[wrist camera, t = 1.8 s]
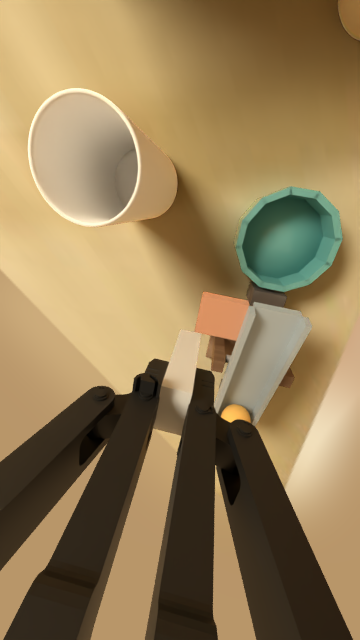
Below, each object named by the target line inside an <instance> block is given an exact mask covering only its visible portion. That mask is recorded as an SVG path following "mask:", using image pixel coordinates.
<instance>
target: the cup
mask: <svg viewBox="0 0 360 640" xmlns="http://www.w3.org/2000/svg"><path fill="white" fill-rule="evenodd" d="M28 156H29V163H30V168H31V172H32V175H33V178H34V181H35V183H36V185H37V187H38V189H39V191H40V193H41V194H42V196H43V197H44V199H45V200H46V202H47V203H48V204H49V205H50V206H51V207H52V208H53V209H54V210H55V211H56V212H57V213H58V214H59V215H61V216H62V217H63V218H65V219H67V220H69V221H71V222H73V223H75V224H78V225H82V226H87V227H101V226H108V225H114V224H121V223H127V222H133V221H139V220H146V219H152V218H156V217H158V216H160V215H162V214H164V213H165V212H166V211H167V210H168V209H169V208H170V207H171V205H172V203H173V201H174V199H175V197H176V193H177V186H178V181H177V174H176V170H175V167H174V165H173V163H172V161H171V160H170V158H169V157H168V156H167V155H166V154H165V153H164V152H163V151H162V150H161V149H160V148H159V147H158V146H157V145H156V144H155V143H154V142H153V141H152V140H151V139H150V138H149V137H148V136H147V135H146V134H145V133H144V132H143V131H142V130H141V129H140V128H139V127H138V126H137V125H136V124H135V123H134V122H133V121H132V120H131V119H130V118H129V117H128V116H127V115H126V114H125V113H123V112H122V111H121V110H120V109H119V108H118V107H117V106H116V105H115V104H114V103H113V102H111V101H110V100H109V99H107V98H106V97H104V96H102V95H100V94H98V93H96V92H94V91H91V90H87V89H81V88H72V89H66V90H63V91H60V92H58V93H56V94H54V95H52V96H51V97H50V98H48V99H47V100H46V101H45V102H44V103H43V104H42V106H41V107H40V108H39V110H38V111H37V113H36V115H35V117H34V119H33V122H32V125H31V128H30V132H29V139H28Z"/></svg>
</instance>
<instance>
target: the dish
mask: <svg viewBox="0 0 360 640" xmlns="http://www.w3.org/2000/svg"><path fill="white" fill-rule="evenodd" d="M342 239H343V238H342V231H341V223H340V216H339V211H338V210H337V209H336V208H335V207H334V206H333V205H332V204H331V203H330V202H329V201H328V200H327V198H326V197H325V196H324V195H323V194H322V193H321V192H320V191H314V190H308V189H302V188H297V187H287V188H284V189H281V190H279V191H276V192H274V193H271V194H268V195H266V196H263V197H261V198H258V199H257V200H256V201H255V202H254V203H253V204H252V205H251V206H250V208H249V209H248V210H247V211H246V212H245V213H244V214H243V216H242V217H241V218H240V219H239V223H238V227H237V231H236V235H235V239H234V246H235V249H236V253H237V257H238V260H239V264H240V267H241V270H242V272H244V273H245V274H246V275H247V276H248V277H249V278H250V279H251V280H252V281H253V282H255V283H256V284H257V285H258V286H259V287H262V288H267V289H272V290H277V291H282V292H285V291H289V290H292V289H296V288H299V287H303V286H306V285H310V284H311V283H312V282H313V281H314V280H316V279H317V278H318V277H319V276H320V275H321V274H322V273H324V272H325V271H326V270H327V269H328V268H329V267H330V266H331V265H332V263H333V261H334V258H335V256H336V254H337V251H338V249H339V246H340V244H341V242H342Z"/></svg>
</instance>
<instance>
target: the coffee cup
mask: <svg viewBox="0 0 360 640" xmlns="http://www.w3.org/2000/svg"><path fill="white" fill-rule="evenodd" d="M338 11H339V16H340V20H341V23H342V25H343V27H344V29H345V30H346V32H347V33H348V34H349V35H350V36H351V37H353V38H354V39H356V40H359V41H360V0H338Z"/></svg>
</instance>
